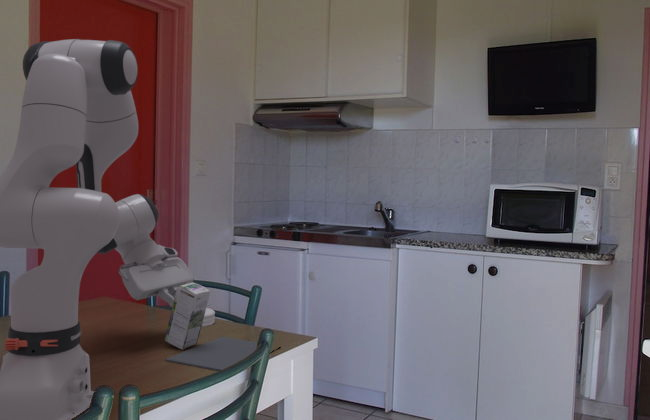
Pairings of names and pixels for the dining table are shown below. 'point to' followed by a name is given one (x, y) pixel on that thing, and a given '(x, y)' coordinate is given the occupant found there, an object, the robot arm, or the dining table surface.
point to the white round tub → (208, 317)
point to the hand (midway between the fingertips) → (177, 304)
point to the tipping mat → (216, 353)
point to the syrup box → (187, 315)
